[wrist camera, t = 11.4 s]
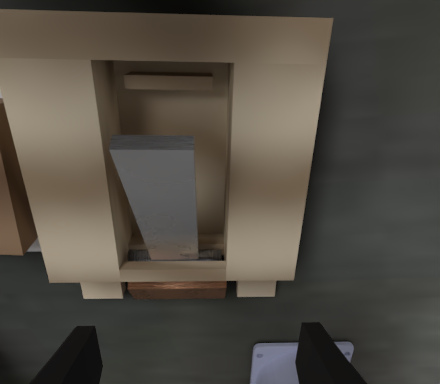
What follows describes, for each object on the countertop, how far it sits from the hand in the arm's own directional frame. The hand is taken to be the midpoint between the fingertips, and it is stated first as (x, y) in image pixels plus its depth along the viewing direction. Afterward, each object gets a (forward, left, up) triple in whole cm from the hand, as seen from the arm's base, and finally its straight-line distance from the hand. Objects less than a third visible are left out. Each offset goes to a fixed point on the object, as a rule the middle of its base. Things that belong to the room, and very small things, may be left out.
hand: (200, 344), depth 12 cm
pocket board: (+2, +2, -10) cm, 11 cm away
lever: (+1, +1, -6) cm, 6 cm away
